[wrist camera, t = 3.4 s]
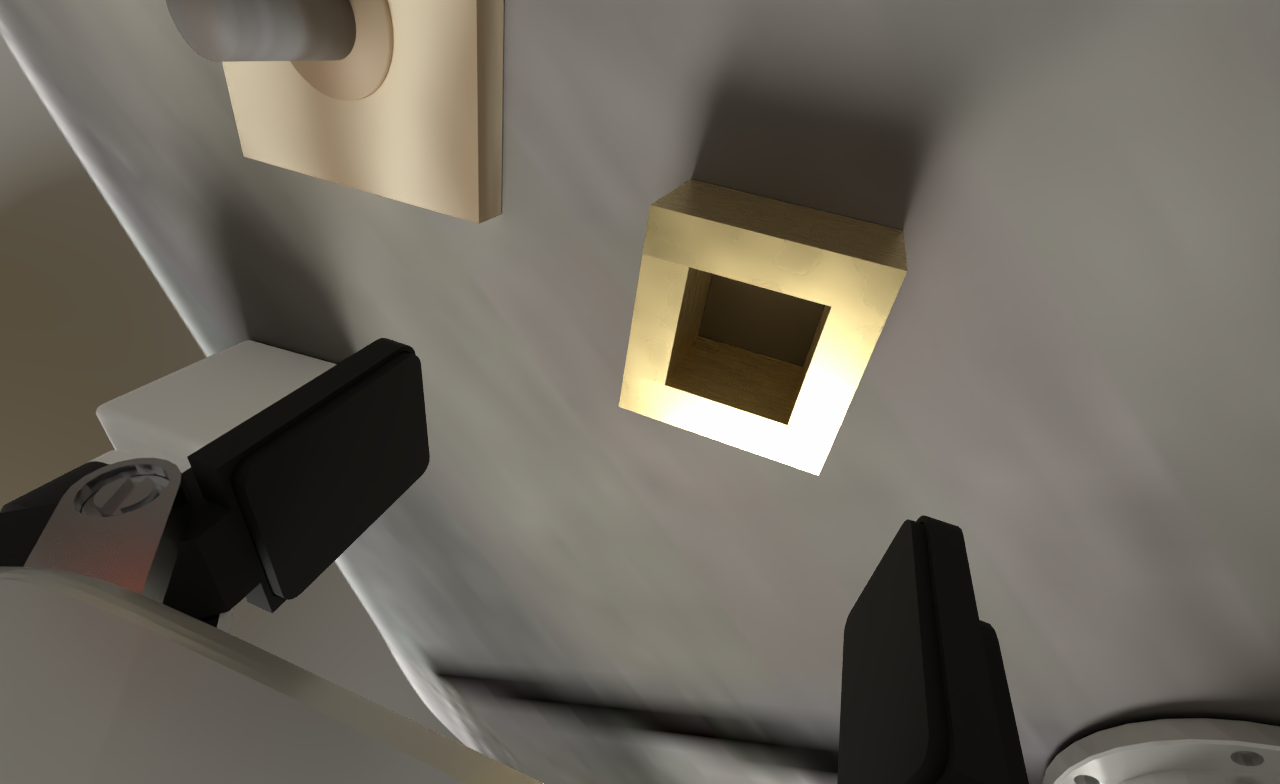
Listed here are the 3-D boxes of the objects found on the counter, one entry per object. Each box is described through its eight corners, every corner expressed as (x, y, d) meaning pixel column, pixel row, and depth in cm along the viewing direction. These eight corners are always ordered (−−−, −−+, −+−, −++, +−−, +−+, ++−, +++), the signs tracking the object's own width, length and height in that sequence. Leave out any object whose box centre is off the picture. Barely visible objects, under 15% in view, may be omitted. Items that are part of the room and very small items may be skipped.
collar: (902, 230, 17) (907, 270, 14) (828, 410, 21) (818, 475, 18) (691, 179, 19) (650, 204, 15) (656, 355, 22) (618, 406, 19)
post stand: (506, -182, 16) (337, -287, 11) (501, 214, 22) (391, 259, 17) (203, -214, 18) (-47, -312, 13) (275, 151, 24) (123, 175, 19)
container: (286, 448, 35) (31, 615, 25) (247, 336, 31) (-78, 479, 21) (387, 482, 33) (157, 680, 23) (361, 367, 29) (65, 544, 18)
